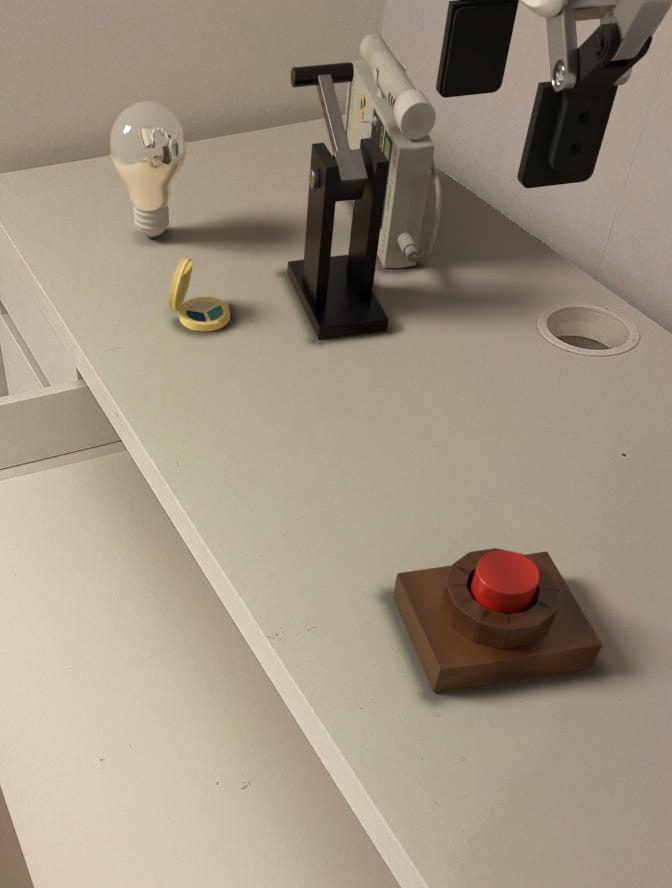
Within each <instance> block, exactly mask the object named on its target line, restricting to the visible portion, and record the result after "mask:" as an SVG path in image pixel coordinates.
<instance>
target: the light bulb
mask: <svg viewBox="0 0 672 888" xmlns="http://www.w3.org/2000/svg"><path fill="white" fill-rule="evenodd" d="M108 138H109V139H108V150H109V156H110V160H111V162H112V165H113V167H114V170H115V171H116V172H117V174H118V176H119V177H120V178H121V180H122V181H123V183H124V184H125V186H126V188H127V191H128V196H129V199H130V203H131V204H132V205H133V218H134V225H135V227H136V229H137V230H138V231H139V232H140V233H141V234H142V235H143V236H145V237H146V238H148V239H157V238H158V237H159V236H160V235H161V234H162V233H164V232H165V231H166V229H167V228H168V227H169V225H170V213H169V210H170V209H169V206H168V204H169V203H170V201H171V198H172V197H171V196H172V189H173V186H174V184H175V181H176V179H177V177H178V175H179V173H180V171H181V170H182V167H183V165H184V163H185V159H186V153H187V139H186V135H185V131H184V127H183V126H182V123H181V121H180V120H179V118H178V117H177V116H176V115H175V113H174V112H173V111H172V110H170V109H169V108H168V107H166V106H165V105H163V104H161V103H158V102H156V101H151V100H142V101H138V102H137V101H136V102H135V103H132V104H131V105H129V106H127V107H126V108H124V110H122V111H121V112H120V113H119V114H118V116H117V118H116V119H115V120H114V122H113V124H112V126H111V129H110V133H109V137H108Z"/></svg>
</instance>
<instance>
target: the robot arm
mask: <svg viewBox="0 0 672 888" xmlns="http://www.w3.org/2000/svg"><path fill="white" fill-rule="evenodd" d="M519 3H521V4H522V5H524V6H525V7H526V8H528V9H529V10H530V11H532V12H533V13H534V14H535V15H538V16H539V17H542V18H545V19H546V20H545V21H546V34H547V46H548V60H549V74H550V75H549V76H550V81H542V82H541V81H540V82H538V83H537V88H536V93H535V96H534V101H533V106H532V110H531V114H530V118H529V123H528V127H527V130H526V131H527V132H526V135H525V140H524V145H523V149H522V153H521V158H520V162H519V166H518V171H517V175H516V177H517V181H518V182H519V183H520V184H521V185H522V186H523V188H525V189H535V188H536V189H537V188H542V187H543V188H544V187H551V186H560V185H566V184H577V183H583V182H586V181H588V180H589V179H591V178H592V176H593V174H594V171H595V169H596V165H597V162H598V159H599V154H600V151H601V149H602V144H603V140H604V138H605V133H606V130H607V127H608V123H609V119H610V116H611V114H612V113H611V112H612V110H613V106H614V102H615V99H616V95H617V92H618V89H619V86H623V85H625V84H626V83H627V82H628V81H629V79H630V77H631V76H632V73H633V67H634V66H635V65H636V64H637V63H638V62H639V61H640V60H642V59H643V58H644V57H645V56H646V54H647V53H648V52H649V50H650V48H651V44H652V42H653V36H654V35H655V33H656V31H657V29H659V27H660V25H661V23H662V22H663V20H664V19H665V18H666V16H667V14H668V12H669V11H670V9H671V7H672V0H448V6H447V13H446V19H445V25H444V33H443V37H442V38H443V39H442V45H441V51H440V58H439V63H438V64H439V65H438V71H437V77H436V82H435V83H436V84H435V90H436V92H437V93H438V94H439V95H440V96H441V97H442V98H444V99H448V98H456V97H465V96H466V97H467V96H474V95H483V94H493V93H497V91H499V90H500V89H501V87H502V85H503V81H504V76H505V71H506V67H507V62H508V56H509V52H510V46H511V41H512V37H513V31H514V27H515V21H516V18H517V11H518V8H519ZM592 20H599V26H598V27H597V28H596V29H595V30H594V31H593V32H592V33H591V34H590V35H589V36H587V38H586V39H585V40H584V41H583V42H582V44H580V45H579V47H578V35H577V33H578V32H577V22H582V21H592Z"/></svg>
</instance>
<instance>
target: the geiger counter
mask: <svg viewBox="0 0 672 888" xmlns="http://www.w3.org/2000/svg"><path fill="white" fill-rule="evenodd" d="M359 55H360V57H361V58H360V59H355V60H350V61H349V62H352V63H353V67H354V77H353V81H352V82H347V83H348V84H347V94H346V103H345V104H346V106H345V116H344V128H345V132H346V136H347V139H348V143H349V147H350V150H353V149H360V141H361V139H365V138H373V139H374V141H375V142H376V143H377V145H378V146H379V148H380V149H381V150H382V152H383V153H384V155H385V156H386V158H387V159H388V160H389V167H388V175H387V182H386V190H385V198H384V205H383V213H382V221H381V228H380V236H379V243H378V251H377V257H378V258H379V260H380V263H381V265H382V267H383V268H384V269H403V268H408V267H414V266H416V265H417V262H421V261H423V260H425V259H426V258H427V257H428V256H429V255H430V254H431V252H432V250H433V248H434V247H433V246H434V244H435V241H436V237H437V235H438V232H439V231H438V230H439V225H440V219H441V211H442V188H441V187H442V186H441V180H440V175H439V173H438V169H437V166H436V164H435V160H434V152H435V146H436V145H435V143H434V141H433V140H432V138H431V136H430V132H431V131H432V130H433V128H434V126H435V123H436V119H437V113H436V110H435V107H434V106H433V105H432V103H431V102H430V100H429V99H428V97H427V96H426V95H425V93H424V92H423V91H422V90H420V89H417V88H416V87H415V85H414V84H413V82H412V80H411V79H410V77H408V75H407V73H406V70H407V66H406V65H405V64H404V63H402V64H401V63H400V61H399V60H398V59H397V57H396V56H395V55H394V53H393V52H392V51H391V49H390V47H389V46H388V44H387V43H386V41H385V39H384V38H383V37H382V35H381V34H379V33H375V32H374V33H370V34H367V35H366V36H365V37H364V38H363V39H362V40H361V42H360V44H359ZM431 174H432V177H433V181H434V186H435V187H434V188H435V212H434V219H433V226H432V231H431V233H430V237H429V240H428V243H427V246H426V249H425V251H424V252H423V253H421V254H420V253H419V248H420V242H421V241H420V240H421V235H422V229H423V222H424V216H425V209H426V204H427V197H428V190H429V186H430V185H429V184H430V178H431ZM352 202H353V203H354V200H352Z"/></svg>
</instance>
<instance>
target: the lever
mask: <svg viewBox="0 0 672 888" xmlns="http://www.w3.org/2000/svg"><path fill="white" fill-rule="evenodd" d="M353 77H354V67H353V63H352V62H350V61H347V62H346V61H345V62H337V63H326V64H325V63H324V64H314V65H302V66H293V67H291V70H290V84H291V87H292V88H303V87H316V90H317V94H318V99H319V102H320V106H321V110H322V114H323V118H324V122H325V125H326V130H327V134H328V138H329V141H330V145H331V146H330V147H331V149H332V156H333V158H334V160H335V161H336V163H337V164H338V166H339V172H338V183H337V193H336V202H346V201H353V200H357V199H361V198H362V195H363V192H364V189H365V186H366V183H367V179H368V176H367V172H366V168H365V164H364V160H363V156H362V153H361V149H353V150H350V147H349V143H348V139H347V136H346V132H345V128H344V126H345V123H344V121H343V117H342V113H341V109H340V108H341V107H340V105H339V100H338V97H337V93H336V89H335V84H344V83H348V82H352V81H353Z"/></svg>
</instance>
